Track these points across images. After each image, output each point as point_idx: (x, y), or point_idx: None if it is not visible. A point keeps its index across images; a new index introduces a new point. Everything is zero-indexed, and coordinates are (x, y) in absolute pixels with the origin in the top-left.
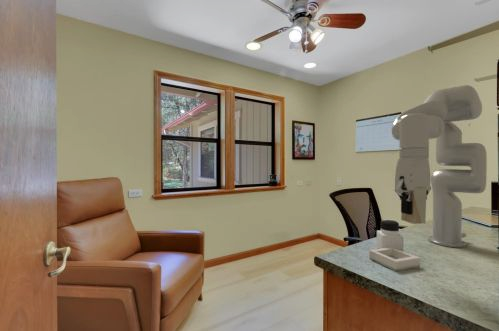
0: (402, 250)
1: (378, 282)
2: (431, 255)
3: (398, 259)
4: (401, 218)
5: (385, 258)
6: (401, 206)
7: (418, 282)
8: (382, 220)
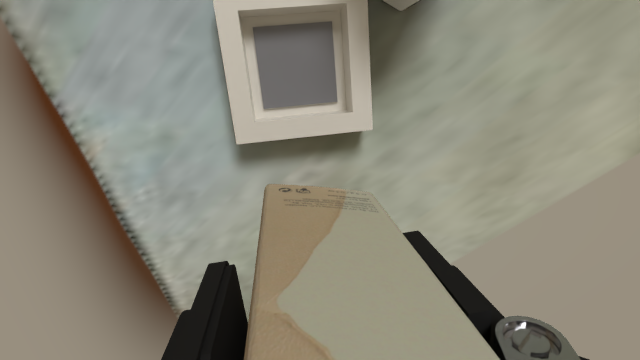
0: (407, 5)
1: (113, 195)
2: (517, 43)
3: (266, 126)
4: (264, 192)
5: (228, 91)
6: (194, 305)
7: (251, 218)
8: None
